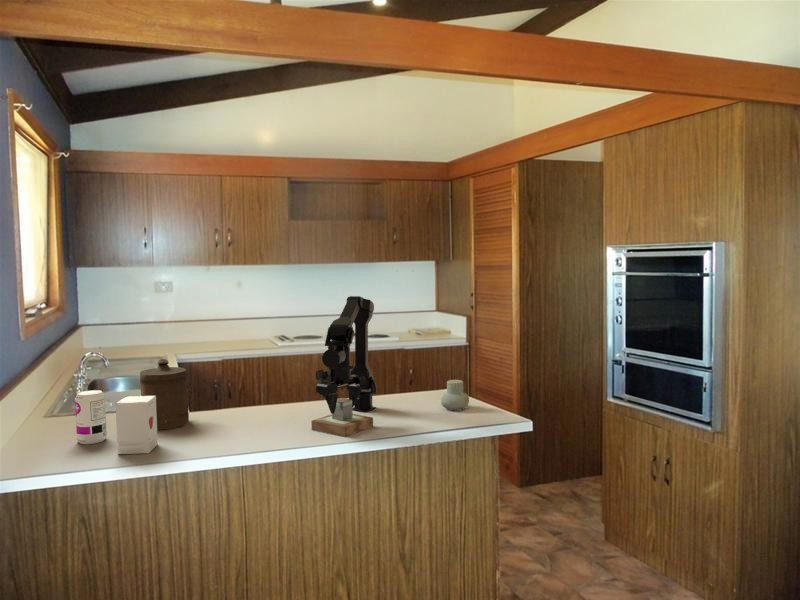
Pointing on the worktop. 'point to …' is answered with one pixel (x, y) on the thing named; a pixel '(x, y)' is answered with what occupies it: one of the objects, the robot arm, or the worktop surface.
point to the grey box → (343, 409)
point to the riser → (342, 425)
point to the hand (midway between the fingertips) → (342, 410)
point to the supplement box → (136, 424)
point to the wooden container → (167, 394)
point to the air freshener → (455, 396)
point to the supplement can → (90, 417)
